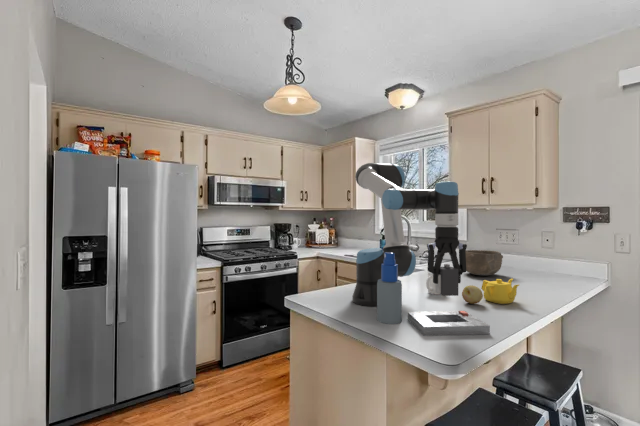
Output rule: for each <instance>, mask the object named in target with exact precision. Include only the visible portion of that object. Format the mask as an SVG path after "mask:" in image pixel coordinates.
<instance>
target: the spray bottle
mask: <svg viewBox="0 0 640 426" xmlns="http://www.w3.org/2000/svg"><path fill="white" fill-rule="evenodd" d="M402 292H403V283H402V280H400V279H399V277H398V264H396V260H395V253H392V252H385V253H384V263H383V264H381V279H379V280H378V282H377V306H376V320H377V321H378V322H379V323H381V324H386V325H396V324H400V323H402V321H403V319H402V316H403V314H402V312H403V307H402V304H403V301H402V300H403V293H402Z"/></svg>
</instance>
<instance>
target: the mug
mask: <svg viewBox="0 0 640 426" xmlns="http://www.w3.org/2000/svg"><path fill="white" fill-rule="evenodd" d="M425 286H426V290H427V292H428V294H430V295H440V294H438V293H436V284H435V283H433V273H431V272H428V271H427V279H426V283H425ZM440 296H441V295H440Z"/></svg>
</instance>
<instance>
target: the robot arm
mask: <svg viewBox="0 0 640 426" xmlns="http://www.w3.org/2000/svg"><path fill="white" fill-rule="evenodd" d="M405 175H406V174H405V171H404V169H403V168H402V166H401V165H399V164H397V163H380V162H379V163H378V162H376V163H375V162H367V163H364V164H362V165H361V166H359V168H357V170H356V172H355V176H354V177H355V182H356V183H357V185H358V186H359V187H361V188H362V189H364V190H368V191H370V192H371V193H373V194H375V195H376V196H377V197H378V198H380V203H381V214H382V220H383V221H382V222H383V229H384V240H385V244H384V246H383V248H380V247H370V248H364V249H361V250H359V251H357V253H356V261H355V262H356V265H355V267H356V273H355V274H356V277H355V278H356V285H355V287H354V289H353V293H352V302H353V304H356V305H359V306H367V307H377V282H378V280H379V279H381V264H383V263H384V253H385V252H392V253H395V260H396V264H398V278H399V277H400V278H402V277H410V276H411V275H412V274H413V273H414V271H415V269H416V265H417V259H416V254H415V253H414V250H411V249H410V246H409V244H407V243H406V241H405V232H404V227H403V219H402V218H403V217H402V210H403V211H404V210H411V211H412V210H416V211H417V210H419V211H431V210H435V212H434V217H435V218H434V219H435V220H434V221H435V222H434V224H435V226H436V227H435V229H434V231H435V233H434V234H435V235H434V236H435V237H434V238H435V240H434V242H433V243H432V242H431V243H427V244H426V248H427V251H428V252H427V273H428V272H431V273H433V283H435V284H436V293H438V294H441V275H440V274H439V270H440V267H442V262H443V259H444V257H445V254H448V255H449V256H450V260H451V263H452V267H454V268H456V269H458V284H461V282H462V278H461V277H462V275H463V274H464V273H467V271H466V250H467V247H468V244H466V243H462V242H460V241H459V227H458V225H459V194H460V193H459V185H458V183H457V182H456V181H438V182H436V183H435V185H434V188H433V189H411V188H410V189H407V188H403V187H404V185H405V180H406V176H405ZM436 248H437V252H436V257H435V250H436ZM457 248H458V253H457Z"/></svg>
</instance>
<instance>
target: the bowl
mask: <svg viewBox="0 0 640 426" xmlns="http://www.w3.org/2000/svg"><path fill="white" fill-rule="evenodd" d="M503 255H504V254H503ZM503 255H502V253H501V252H500V251H497V250H488V249H487V250H486V249H484V250H481V249H466V273H469V274H471V275H473V276H475V275H476V276H491V275H492V276H493V275H495V274H497V273H498V272H499V271H500V270H501V268H502V265H503V259H504V256H503Z"/></svg>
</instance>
